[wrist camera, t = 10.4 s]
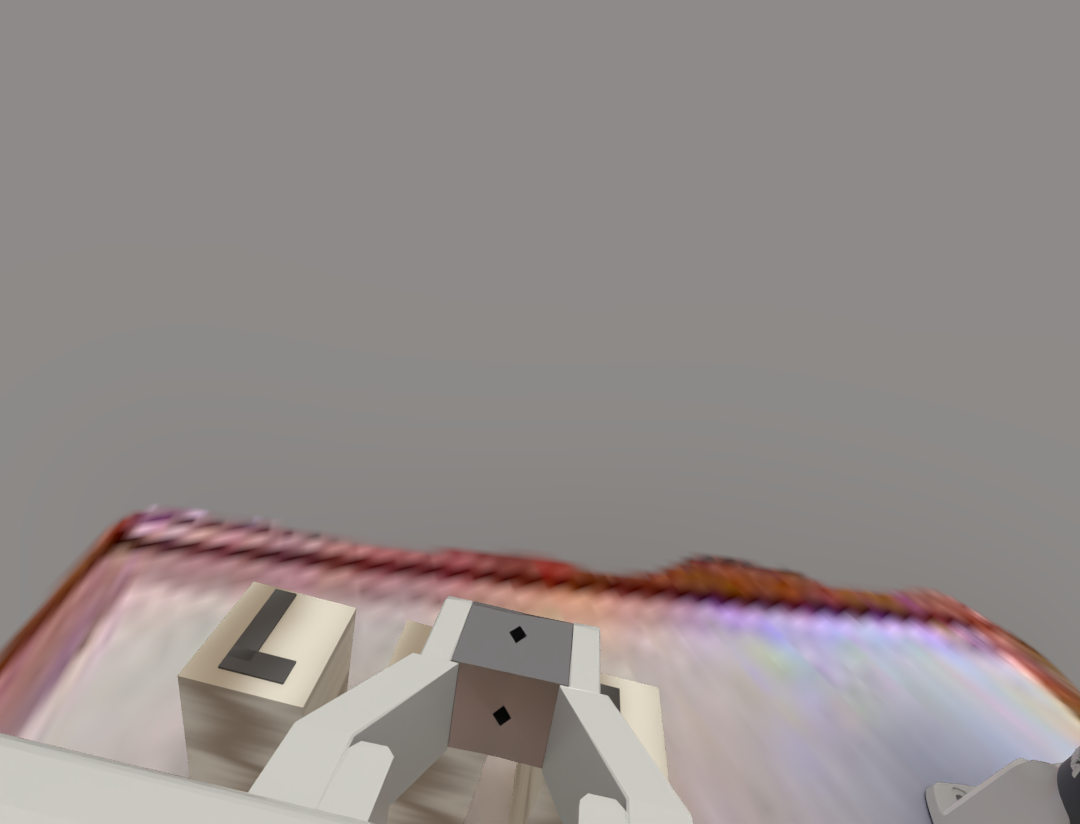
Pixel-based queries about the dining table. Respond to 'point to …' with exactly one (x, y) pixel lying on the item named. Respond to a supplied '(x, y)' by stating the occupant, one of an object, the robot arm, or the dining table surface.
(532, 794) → the block one
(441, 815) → the plain block
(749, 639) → the dining table surface
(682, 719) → the dining table surface
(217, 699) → the block seven
